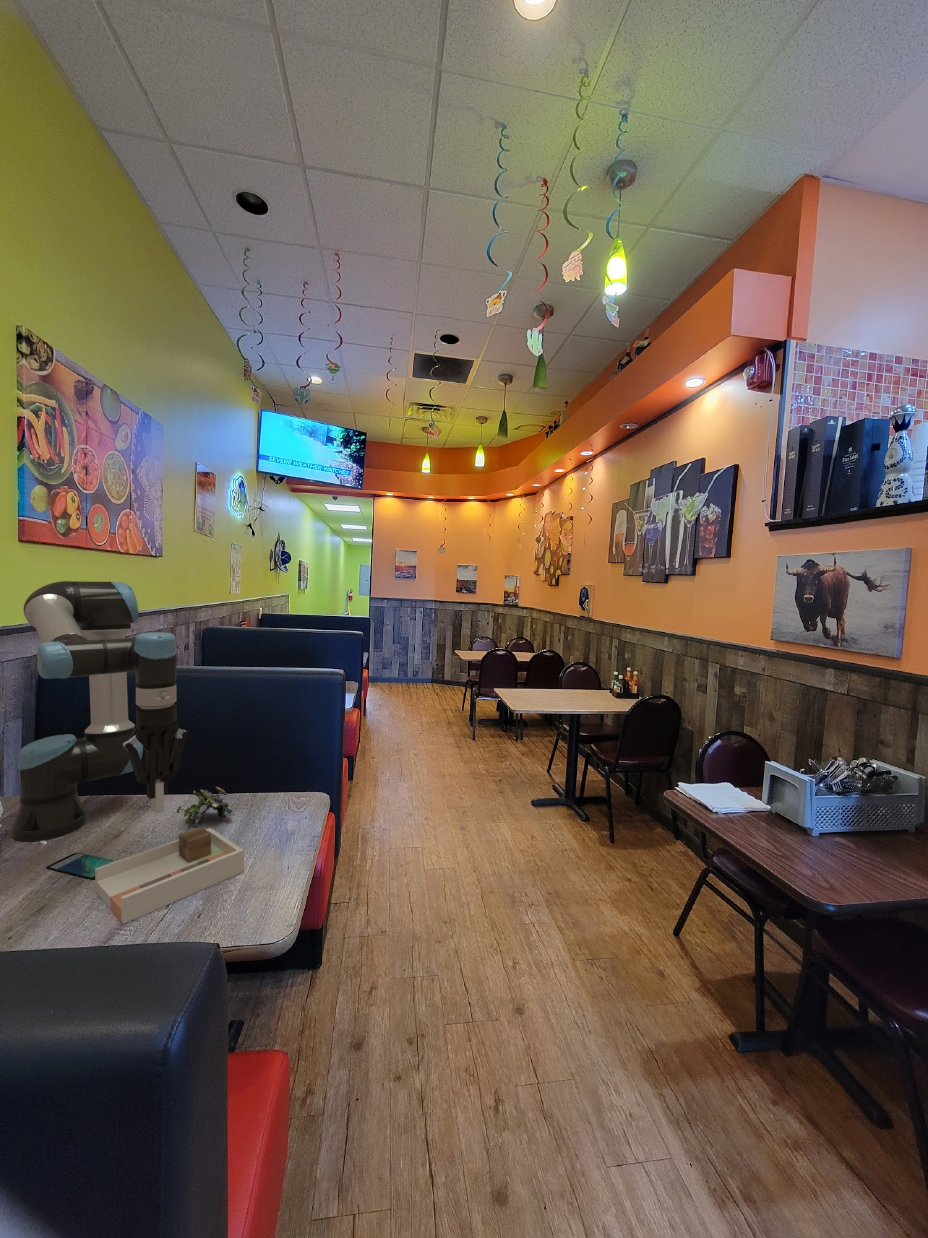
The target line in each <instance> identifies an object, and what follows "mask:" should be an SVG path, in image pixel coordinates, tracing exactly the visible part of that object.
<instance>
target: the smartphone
mask: <svg viewBox="0 0 928 1238" xmlns="http://www.w3.org/2000/svg"><path fill="white" fill-rule="evenodd" d="M115 861H116V860H112V859H108V858H104V857H103V858H102V857H99V856H94V855H90V854H87V853H86V854H85V853H82V852H73V853H72V854H69V855H67V856H65V857H63V858H60V859H59V860H57V861H55V862H52V863H50V864H49V865H46V867H45V869H46V870H48V871H49V870H50V871H52V872H56V873H62V874H65V875H69V876H72V877H76V876H78V877H77V878H80V879H84V878H85V880H88V879H89V880H88V881H95V868H98V867H101V866H103V865H106V864H109V863H112V862H115Z"/></svg>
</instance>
